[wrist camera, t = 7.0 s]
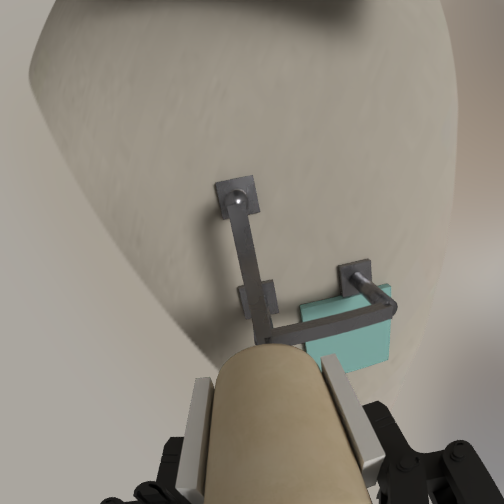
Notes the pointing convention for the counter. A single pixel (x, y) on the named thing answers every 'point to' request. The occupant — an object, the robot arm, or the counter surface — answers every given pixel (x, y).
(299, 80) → the counter surface
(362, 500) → the candle
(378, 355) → the pad
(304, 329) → the handrail
